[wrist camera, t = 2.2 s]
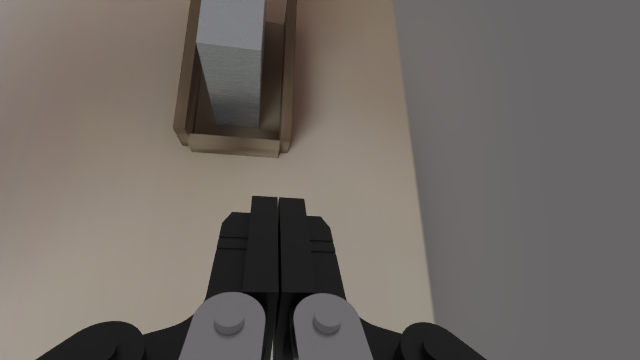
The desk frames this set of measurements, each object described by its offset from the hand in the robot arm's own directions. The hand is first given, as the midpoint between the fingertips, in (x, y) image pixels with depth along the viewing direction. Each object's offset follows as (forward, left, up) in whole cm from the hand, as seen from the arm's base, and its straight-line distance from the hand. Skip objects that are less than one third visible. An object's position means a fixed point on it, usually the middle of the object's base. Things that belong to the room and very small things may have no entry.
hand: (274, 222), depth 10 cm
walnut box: (-3, +15, -18) cm, 23 cm away
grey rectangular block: (-3, +16, -18) cm, 24 cm away
